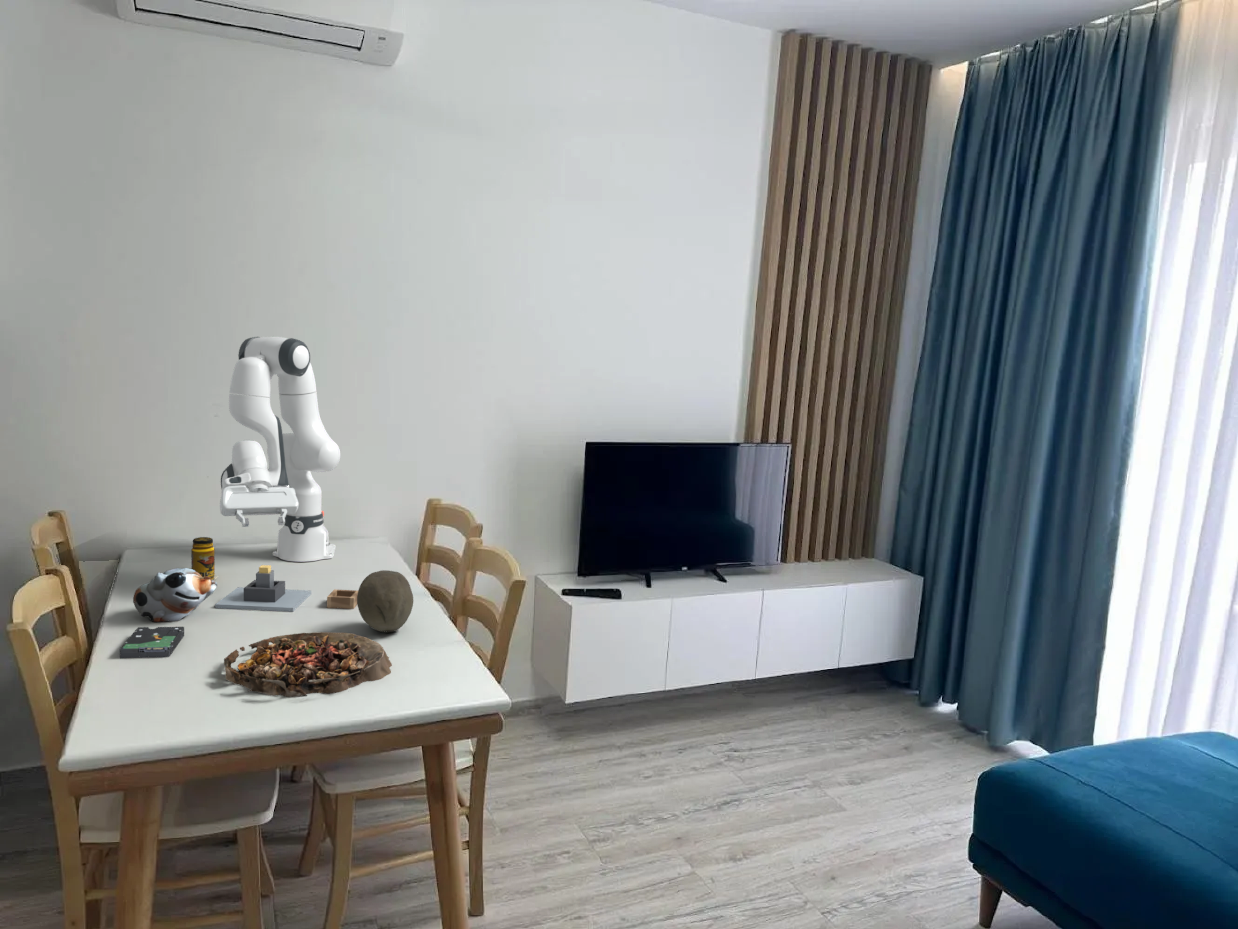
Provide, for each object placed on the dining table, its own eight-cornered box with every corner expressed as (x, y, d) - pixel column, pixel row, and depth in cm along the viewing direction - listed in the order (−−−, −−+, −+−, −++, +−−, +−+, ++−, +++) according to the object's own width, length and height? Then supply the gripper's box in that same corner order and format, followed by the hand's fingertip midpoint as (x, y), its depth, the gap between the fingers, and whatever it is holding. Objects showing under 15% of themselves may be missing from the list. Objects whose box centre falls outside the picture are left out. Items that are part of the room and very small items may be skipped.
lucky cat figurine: (195, 601, 246) (218, 555, 241) (202, 635, 236) (227, 587, 232) (127, 592, 235) (150, 543, 230) (132, 627, 225) (156, 577, 221)
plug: (260, 595, 251) (260, 564, 250) (273, 595, 252) (274, 565, 250) (255, 598, 248) (255, 567, 247) (269, 599, 248) (269, 568, 247)
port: (238, 590, 257) (238, 574, 257) (311, 594, 258) (311, 578, 258) (215, 608, 242) (215, 591, 241) (293, 611, 242) (293, 594, 242)
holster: (334, 600, 254) (334, 589, 254) (360, 601, 254) (360, 590, 254) (327, 607, 247) (327, 596, 247) (353, 609, 247) (353, 598, 247)
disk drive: (137, 638, 219) (119, 660, 204) (136, 627, 218) (118, 648, 204) (184, 637, 221) (170, 658, 207) (184, 625, 221) (170, 646, 207)
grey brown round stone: (425, 629, 235) (427, 571, 232) (382, 643, 223) (383, 583, 221) (386, 617, 242) (387, 561, 240) (343, 630, 231) (343, 571, 228)
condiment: (211, 583, 263) (211, 542, 261) (180, 582, 262) (179, 541, 260) (219, 576, 270) (219, 536, 268) (188, 575, 269) (188, 535, 267)
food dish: (215, 711, 184) (213, 673, 183) (233, 654, 216) (232, 622, 214) (397, 694, 194) (397, 658, 193) (390, 643, 225) (389, 612, 224)
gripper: (291, 492, 268) (300, 530, 260) (215, 494, 256) (222, 533, 248) (295, 478, 264) (305, 515, 256) (218, 479, 252) (226, 518, 245)
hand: (264, 524), depth 252 cm, fingers open, 8 cm apart
